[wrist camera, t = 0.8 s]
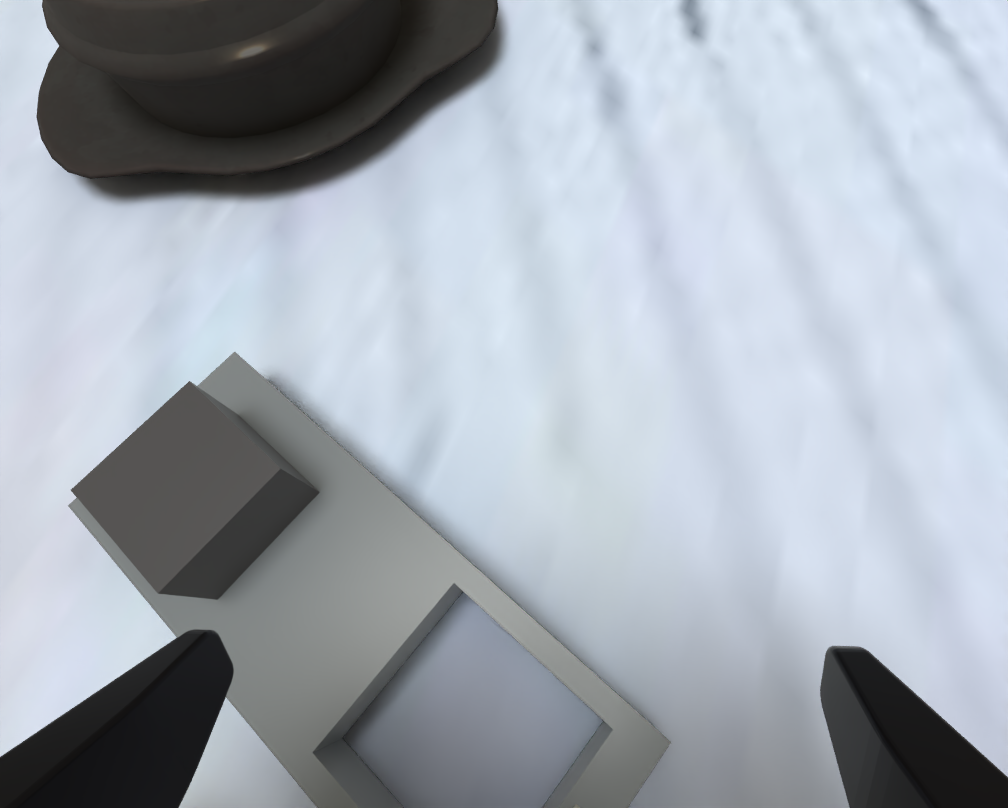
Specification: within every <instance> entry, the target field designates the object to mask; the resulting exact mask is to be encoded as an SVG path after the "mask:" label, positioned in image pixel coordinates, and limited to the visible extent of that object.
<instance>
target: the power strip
mask: <svg viewBox="0 0 1008 808" xmlns="http://www.w3.org/2000/svg"><path fill="white" fill-rule="evenodd" d="M71 491H72V492H73V493H74V495H75V496H76V497H77V498H76V499H75V500H74V501H73V502H72V503H70V504H69V505H68V506H69V507H70V509H71V510H72V511H73V512H74V513H75V515H76V516H77V517H78V518H79V519H80V521H81V522H82V523H83V524H84V526H85V527H86V528H87V529H88V530H89V532H90V533H91V534H92V535H93V536H94V538H95V539H96V540H97V541H98V542H99V544H100V545H101V546H102V547H103V549H104V550H105V551H106V552H107V553H108V555H109V556H110V557H111V558H112V559H113V561H114V562H115V563H116V564H117V565H118V567H119V568H120V569H121V570H122V572H123V573H124V574H125V575H126V576H127V578H128V579H129V580H130V581H131V582H132V584H133V585H134V586H135V587H136V588H137V590H138V591H139V592H140V593H141V595H142V596H143V597H144V598H145V599H146V601H147V602H148V603H149V604H150V605H151V607H152V608H153V609H154V610H155V611H156V613H157V614H158V615H159V616H160V618H161V619H162V620H163V621H164V622H165V624H166V625H167V626H168V627H169V628H170V630H171V631H172V632H173V633H174V634H175V636H176V637H177V638H178V637H179V636H181V635H182V634H183V633H185V632H187V631H189V630H195V629H199V630H214V631H216V632H217V633H218V634H219V636H220V638H221V640H222V642H223V644H224V646H225V648H226V650H227V652H228V654H229V657H230V659H231V661H232V663H233V667H234V674H233V679H232V682H231V685H230V687H229V690H228V692H227V695H226V697H227V699H228V700H229V701H230V702H231V703H232V705H233V706H234V707H235V708H236V710H237V711H238V712H239V713H240V714H241V716H242V717H243V718H244V719H245V720H246V722H247V723H248V724H249V725H250V726H251V728H252V729H253V730H254V731H255V733H256V734H257V735H258V736H259V737H260V739H261V740H262V741H263V742H264V743H265V745H266V746H267V747H268V748H269V749H270V751H271V752H272V753H273V754H274V756H275V757H276V758H277V759H278V760H279V762H280V763H281V764H282V765H283V766H284V768H285V769H286V770H287V771H288V772H289V774H290V775H291V776H292V777H293V779H294V780H295V781H296V782H297V783H298V785H299V786H300V787H301V788H302V789H303V791H304V792H305V793H306V794H307V795H308V797H309V798H310V799H311V800H312V802H313V803H314V804H315V805H316V806H317V808H404V807H403V806H402V805H401V804H400V803H399V802H398V801H397V800H396V798H395V797H394V796H393V795H392V794H391V793H390V792H389V790H388V789H387V788H386V787H385V786H384V785H383V784H382V783H381V781H380V780H379V779H378V778H377V777H376V776H375V775H374V774H373V772H372V771H371V770H370V769H369V768H368V767H367V766H366V764H365V763H364V762H363V761H362V760H361V759H360V758H359V757H358V755H357V754H356V753H355V752H354V751H353V750H352V749H351V748H350V746H349V745H348V744H347V743H346V742H345V741H344V740H343V736H344V735H345V734H346V733H347V732H348V730H349V729H350V728H351V727H352V726H353V724H354V723H355V722H356V721H357V720H358V718H359V717H360V716H361V715H362V713H363V712H364V711H365V710H366V709H367V707H368V706H369V705H370V704H371V703H372V701H373V700H374V699H375V698H376V696H377V695H378V694H379V693H380V692H381V690H382V689H383V688H384V687H385V686H386V684H387V683H388V682H389V681H390V680H391V678H392V677H393V676H394V675H395V673H396V672H397V671H398V670H399V669H400V667H401V666H402V665H403V664H404V663H405V661H406V660H407V659H408V658H409V657H410V655H411V654H412V653H413V652H414V650H415V649H416V648H417V647H418V646H419V644H420V643H421V642H422V641H423V640H424V638H425V637H426V636H427V635H428V634H429V632H430V631H431V630H432V629H433V627H434V626H435V625H436V624H437V623H438V621H439V620H440V619H441V618H442V617H443V615H444V614H445V613H446V612H447V611H448V609H449V608H450V607H451V606H452V604H453V603H454V602H455V601H456V600H457V598H458V597H459V596H460V595H461V594H462V592H464V593H466V594H467V595H468V596H469V597H470V598H471V599H472V600H473V601H474V602H475V603H476V604H477V605H479V606H480V607H481V608H482V609H483V610H484V611H485V612H486V613H487V614H488V615H489V616H490V617H492V618H493V619H494V620H495V621H496V622H497V623H498V624H499V625H500V626H501V627H502V628H503V629H505V630H506V631H507V632H508V633H509V634H510V635H511V636H512V637H513V638H514V639H515V640H517V641H518V642H519V643H520V644H521V645H522V646H523V647H524V648H525V649H526V650H527V651H528V652H530V653H531V654H532V655H533V656H534V657H535V658H536V659H537V660H538V661H539V662H540V663H541V664H543V665H544V666H545V667H546V668H547V669H548V670H549V671H550V672H551V673H552V674H553V675H555V676H556V677H557V678H558V679H559V680H560V681H561V682H562V683H563V684H564V685H565V686H566V687H568V688H569V689H570V690H571V691H572V692H573V693H574V694H575V695H576V696H577V697H578V698H579V699H581V700H582V701H583V702H584V703H585V704H586V705H587V706H588V707H589V708H590V709H591V710H593V711H594V712H595V713H596V714H597V715H598V716H599V717H600V718H601V719H602V720H603V722H602V724H601V725H600V727H599V728H598V729H597V731H596V732H595V734H594V735H593V736H592V738H591V739H590V741H589V742H588V744H587V745H586V746H585V748H584V749H583V751H582V752H581V753H580V755H579V756H578V758H577V759H576V761H575V762H574V763H573V765H572V766H571V768H570V769H569V771H568V772H567V773H566V775H565V776H564V778H563V779H562V780H561V782H560V783H559V785H558V786H557V788H556V789H555V790H554V792H553V793H552V795H551V796H550V797H549V799H548V800H547V802H546V803H545V805H544V806H543V807H542V808H628V806H629V805H630V803H631V802H632V800H633V799H634V797H635V796H636V794H637V793H638V791H639V790H640V788H641V787H642V785H643V784H644V782H645V781H646V779H647V778H648V776H649V775H650V773H651V772H652V770H653V769H654V767H655V766H656V764H657V763H658V761H659V760H660V758H661V757H662V755H663V754H664V752H665V751H666V749H667V748H668V746H669V745H670V743H671V742H670V741H669V740H668V739H667V738H666V737H665V736H664V735H663V734H661V733H660V732H659V731H658V730H657V729H656V728H655V727H654V726H653V725H652V724H651V723H649V722H648V721H647V720H646V719H645V718H644V717H643V716H642V715H640V714H639V713H638V712H637V711H636V710H635V709H634V708H633V707H632V706H630V705H629V704H628V703H627V702H626V701H625V700H624V699H623V698H622V697H620V696H619V695H618V694H617V693H616V692H615V691H614V690H613V689H611V688H610V687H609V686H608V685H607V684H606V683H605V682H604V681H603V680H601V679H600V678H599V677H598V676H597V675H596V674H595V673H594V672H592V671H591V670H590V669H589V668H588V667H587V666H586V665H585V664H584V663H582V662H581V661H580V660H579V659H578V658H577V657H576V656H575V655H573V654H572V653H571V652H570V651H569V650H568V649H567V648H566V647H565V646H563V645H562V644H561V643H560V642H559V641H558V640H557V639H556V638H554V637H553V636H552V635H551V634H550V633H549V632H548V631H547V630H546V629H544V628H543V627H542V626H541V625H540V624H539V623H538V622H537V621H535V620H534V619H533V618H532V617H531V616H530V615H529V614H528V613H527V612H525V611H524V610H523V609H522V608H521V607H520V606H519V605H518V604H516V603H515V602H514V601H513V600H512V599H511V598H510V597H509V596H508V595H506V594H505V593H504V592H503V591H502V590H501V589H500V588H499V587H497V586H496V585H495V584H494V583H493V582H492V581H491V580H490V579H489V578H487V577H486V576H485V575H484V574H483V573H482V572H481V571H480V570H478V569H477V568H476V567H475V566H474V565H473V564H472V563H471V562H470V561H468V560H467V559H466V558H465V557H464V556H463V555H462V554H461V553H459V552H458V551H457V550H456V549H455V548H454V547H453V546H452V545H451V544H449V543H448V542H447V541H446V540H445V539H444V538H443V537H442V536H440V535H439V534H438V533H437V532H436V531H435V530H434V529H433V528H432V527H430V526H429V525H428V524H427V523H426V522H425V521H424V520H423V519H422V518H420V517H419V516H418V515H417V514H416V513H415V512H414V511H413V510H411V509H410V508H409V507H408V506H407V505H406V504H405V503H404V502H403V501H401V500H400V499H399V498H398V497H397V496H396V495H395V494H394V493H392V492H391V491H390V490H389V489H388V488H387V487H386V486H385V485H384V484H382V483H381V482H380V481H379V480H378V479H377V478H376V477H375V476H373V475H372V474H371V473H370V472H369V471H368V470H367V469H366V468H365V467H363V466H362V465H361V464H360V463H359V462H358V461H357V460H356V459H354V458H353V457H352V456H351V455H350V454H349V453H348V452H347V451H346V450H344V449H343V448H342V447H341V446H340V445H339V444H338V443H337V442H335V441H334V440H333V439H332V438H331V437H330V436H329V435H328V434H327V433H325V432H324V431H323V430H322V429H321V428H320V427H319V426H318V425H316V424H315V423H314V422H313V421H312V420H311V419H310V418H309V417H308V416H306V415H305V414H304V413H303V412H302V411H301V410H300V409H299V408H297V407H296V406H295V405H294V404H293V403H292V402H291V401H290V400H289V399H287V398H286V397H285V396H284V395H283V394H282V393H281V392H280V391H278V390H277V389H276V388H275V387H274V386H273V385H272V384H271V383H270V382H268V381H267V380H266V379H265V378H264V377H263V376H262V375H261V374H259V373H258V372H257V371H256V370H255V369H254V368H253V367H251V366H250V365H249V364H248V363H247V362H246V361H245V360H243V359H242V358H241V357H240V356H239V355H238V354H237V353H236V352H234V353H233V354H232V355H231V356H229V357H228V358H227V359H226V360H225V361H224V362H223V363H222V364H221V365H220V366H219V367H218V368H216V369H215V370H214V371H213V372H212V373H211V374H210V375H209V376H208V377H207V378H206V379H205V380H203V381H202V382H201V383H200V384H199V385H198V386H196V385H195V384H193V383H192V382H190V381H189V382H188V383H187V384H186V385H185V386H184V387H182V388H181V389H180V390H179V391H178V392H177V393H176V394H175V395H174V396H173V397H172V398H170V399H169V400H168V401H167V402H166V403H165V404H164V405H163V406H162V407H161V408H160V409H159V410H157V411H156V412H155V413H154V414H153V415H152V416H151V417H150V418H149V419H148V420H147V421H145V422H144V423H143V424H142V425H141V426H140V427H139V428H138V429H137V430H136V431H135V432H133V433H132V434H131V435H130V436H129V437H128V438H127V439H126V440H125V441H124V442H123V443H121V444H120V445H119V446H118V447H117V448H116V449H115V450H114V451H113V452H112V453H111V454H109V455H108V456H107V457H106V458H105V459H104V460H103V461H102V462H101V463H100V464H99V465H98V466H96V467H95V468H94V469H93V470H92V471H91V472H90V473H89V474H88V475H87V476H86V477H84V478H83V479H82V480H81V481H80V482H79V483H78V484H77V485H76V486H75V487H74V488H72V489H71Z"/></svg>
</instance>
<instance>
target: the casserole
mask: <svg viewBox="0 0 1008 808" xmlns="http://www.w3.org/2000/svg"><path fill="white" fill-rule="evenodd" d="M42 8H43V12H44V16H45V20H46V24H47V28H48V29H49V31H50V32H51V34H52V35H53V37H54V38H55V40H56V41H57V43H58V44H59V47H58V49H57V51H56V52H55V54H54V55H53V57H52V59H51V60H50V62H49V64H48V67H47V69H46V72H45V75H44V78H43V81H42V84H41V87H40V91H39V97H38V107H37V121H38V126H39V130H40V135H41V139H42V141H43V143H44V145H45V146H46V148H47V150H48V152H49V154H50V155H51V157H52V159H54V160H55V161H56V162H57V163H58V164H59V165H60V166H62V167H63V168H64V169H65V170H66V171H67V172H69V173H73V174H76V175H80V176H83V177H87V178H90V179H93V178H103V177H113V176H124V175H134V174H144V173H154V172H170V173H189V174H209V175H229V176H230V175H238V174H247V173H255V172H264V171H269V170H273V169H277V168H281V167H284V166H288V165H292V164H296V163H299V162H303V161H306V160H309V159H311V158H313V157H316V156H318V155H320V154H323V153H325V152H327V151H330V150H332V149H334V148H337V147H339V146H341V145H343V144H345V143H346V142H348V141H350V140H351V139H353V138H355V137H356V136H358V135H359V134H361V133H363V132H364V131H366V130H368V129H369V128H371V127H373V126H374V125H375V124H376V123H378V122H379V121H380V120H381V119H382V118H383V117H385V116H386V115H387V114H388V113H389V112H390V111H392V110H393V109H394V108H395V107H396V106H397V105H399V104H400V103H401V102H402V101H403V100H404V99H406V98H407V97H408V96H409V95H410V94H411V93H412V92H414V91H415V90H416V89H417V88H418V87H419V86H421V85H422V84H423V83H424V82H425V81H427V80H429V79H430V78H432V77H434V76H435V75H437V74H439V73H440V72H442V71H444V70H445V69H447V68H449V67H450V66H452V65H454V64H455V63H457V62H458V61H460V60H461V59H463V58H464V57H466V56H467V55H469V54H470V53H472V52H473V51H475V50H476V49H478V48H479V47H481V45H482V44H483V43H484V41H485V40H486V38H487V37H488V36H489V34H490V33H491V32H492V30H493V29H494V25H495V21H496V16H497V11H498V3H497V0H43V2H42Z"/></svg>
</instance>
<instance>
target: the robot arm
mask: <svg viewBox="0 0 1008 808" xmlns="http://www.w3.org/2000/svg"><path fill="white" fill-rule="evenodd" d="M233 674H234V667H233V663H232V661H231V659H230V657H229V654H228V652H227V650H226V648H225V646H224V644H223V642H222V640H221V638H220V636H219V634H218V633H217V632H216V631H214V630H199V629H195V630H189V631H187V632H185V633H183V634H182V635H181V636H179V637H178V638H176V639H175V640H173V641H172V642H170V643H169V644H167V645H166V646H164V647H163V648H161V649H160V650H158V651H157V652H155V653H154V654H152V655H151V656H149V657H148V658H146V659H145V660H143V661H142V662H140V663H139V664H137V665H136V666H135V667H133V668H132V669H130V670H129V671H127V672H126V673H124V674H123V675H121V676H120V677H118V678H117V679H115V680H114V681H112V682H111V683H109V684H108V685H106V686H105V687H103V688H102V689H100V690H99V691H97V692H96V693H94V694H93V695H91V696H90V697H89V698H87V699H86V700H84V701H83V702H81V703H80V704H78V705H77V706H75V707H74V708H72V709H71V710H69V711H68V712H66V713H65V714H63V715H62V716H60V717H59V718H57V719H56V720H54V721H53V722H51V723H50V724H48V725H47V726H45V727H44V728H43V729H41V730H40V731H38V732H37V733H35V734H34V735H32V736H31V737H29V738H28V739H26V740H25V741H23V742H22V743H20V744H19V745H17V746H16V747H14V748H13V749H11V750H10V751H8V752H7V753H5V754H4V755H2V756H1V757H0V808H179V806H180V804H181V802H182V800H183V798H184V795H185V793H186V791H187V789H188V787H189V785H190V783H191V781H192V778H193V776H194V774H195V771H196V769H197V767H198V764H199V762H200V759H201V757H202V754H203V752H204V750H205V747H206V745H207V742H208V740H209V737H210V735H211V732H212V730H213V727H214V725H215V722H216V720H217V717H218V715H219V712H220V710H221V707H222V705H223V702H224V700H225V697H226V695H227V692H228V690H229V687H230V685H231V682H232V679H233ZM820 696H821V703H822V708H823V711H824V715H825V719H826V722H827V726H828V730H829V733H830V737H831V741H832V744H833V748H834V752H835V755H836V759H837V763H838V766H839V770H840V774H841V777H842V781H843V785H844V788H845V792H846V796H847V799H848V803H849V807H850V808H1008V777H1007V776H1006V775H1005V774H1004V773H1002V772H1001V771H1000V770H999V769H998V768H997V767H996V766H995V765H994V764H993V763H991V762H990V761H989V760H988V759H987V758H986V757H985V756H984V755H983V754H981V753H980V752H979V751H978V750H977V749H976V748H975V747H974V746H973V745H972V744H970V743H969V742H968V741H967V740H966V739H965V738H964V737H963V736H962V735H961V734H959V733H958V732H957V731H956V730H955V729H954V728H953V727H952V726H951V725H949V724H948V723H947V722H946V721H945V720H944V719H943V718H942V717H941V716H940V715H938V714H937V713H936V712H935V711H934V710H933V709H932V708H931V707H930V706H928V705H927V704H926V703H925V702H924V701H923V700H922V699H921V698H920V697H919V696H917V695H916V694H915V693H914V692H913V691H912V690H911V689H910V688H909V687H908V686H906V685H905V684H904V683H903V682H902V681H901V680H900V679H899V678H898V677H896V676H895V675H894V674H893V673H892V672H891V671H890V670H889V669H888V668H887V667H885V666H884V665H883V664H882V663H881V662H880V661H879V660H878V659H877V658H875V657H874V656H873V655H872V654H871V653H870V652H869V651H867V650H866V649H864V648H862V647H856V646H831V647H829V648H828V650H827V652H826V655H825V661H824V668H823V674H822V680H821V687H820Z"/></svg>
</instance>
